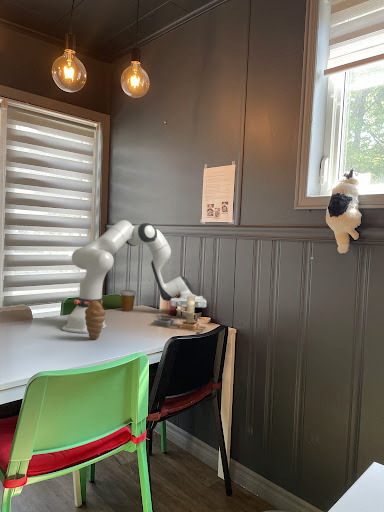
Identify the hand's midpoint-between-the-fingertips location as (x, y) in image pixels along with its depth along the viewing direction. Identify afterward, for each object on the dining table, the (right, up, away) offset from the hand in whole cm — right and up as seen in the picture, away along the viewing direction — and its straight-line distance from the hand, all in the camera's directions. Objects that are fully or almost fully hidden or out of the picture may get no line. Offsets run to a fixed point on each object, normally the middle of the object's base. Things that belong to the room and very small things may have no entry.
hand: (189, 305), depth 207 cm
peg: (0, -10, -10) cm, 14 cm away
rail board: (-6, -11, -8) cm, 15 cm away
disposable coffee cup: (-38, -7, +28) cm, 48 cm away
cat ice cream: (-42, -11, -36) cm, 56 cm away
